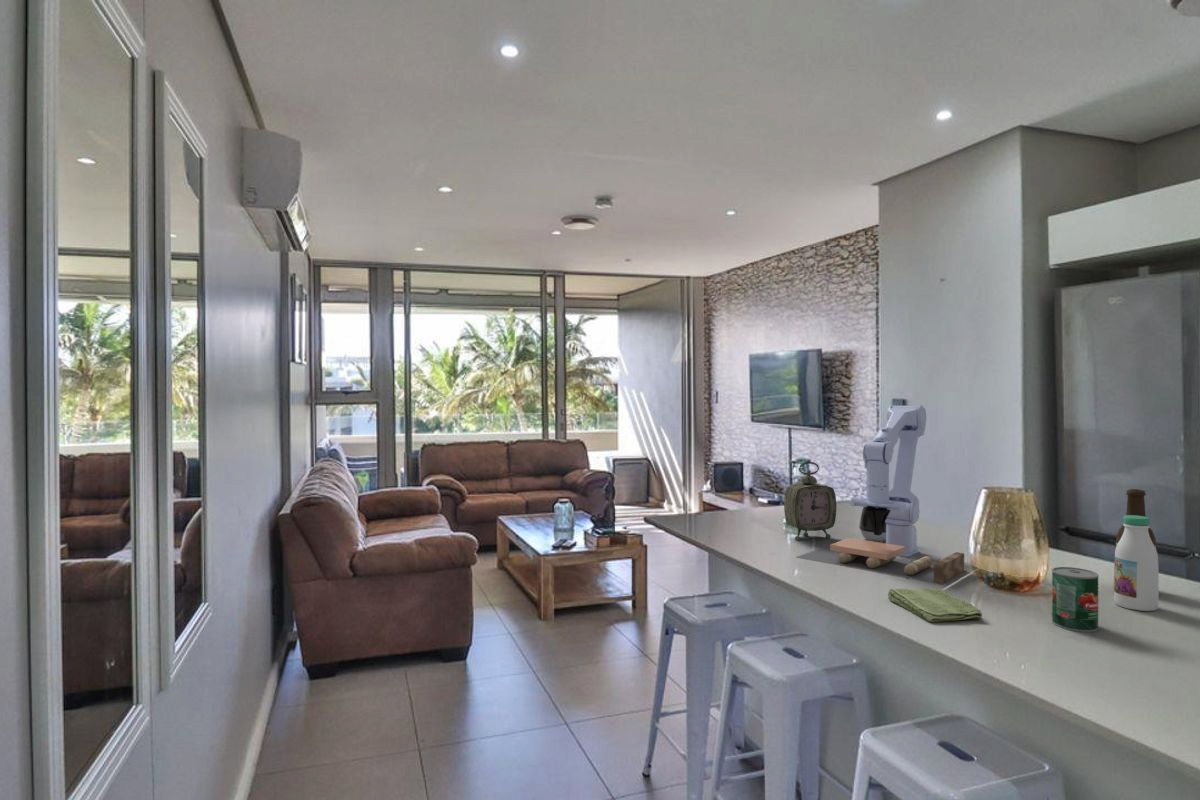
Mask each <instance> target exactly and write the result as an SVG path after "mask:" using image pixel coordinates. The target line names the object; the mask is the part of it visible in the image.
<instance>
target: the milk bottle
mask: <svg viewBox="0 0 1200 800" xmlns="http://www.w3.org/2000/svg"><path fill="white" fill-rule="evenodd" d="M1122 521H1123V524H1122V526H1123V525H1124V526H1125V529H1124V533H1123V535H1122V537H1121V539H1120V541H1119V542H1118V544H1117V546H1116V545H1115V551H1114V567H1113V568H1114V569H1113V570H1114V572H1113V573H1114V574H1113V576H1114V577H1113V579H1114V580H1113V582H1114V583H1113V594H1114V595H1113V597H1114V599H1113V600H1114V602H1115V605H1117V606H1118V607H1122V608H1124V609H1129V610H1133V611H1140V612H1153V611H1154V612H1155V611H1157V610H1158V608H1159V583H1160V582H1159V577H1160V576H1159V556H1158V552H1157V547H1156V548H1155V546H1154V544H1153V543H1152V541H1151V538H1150V536H1149V533H1148V528H1150V529H1151V527H1150V524H1151V523H1150V521H1151V520H1150V518H1149V517H1147V516H1146V517H1144V516H1135V515H1126V514H1125V515H1124V516H1123V518H1122Z"/></svg>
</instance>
